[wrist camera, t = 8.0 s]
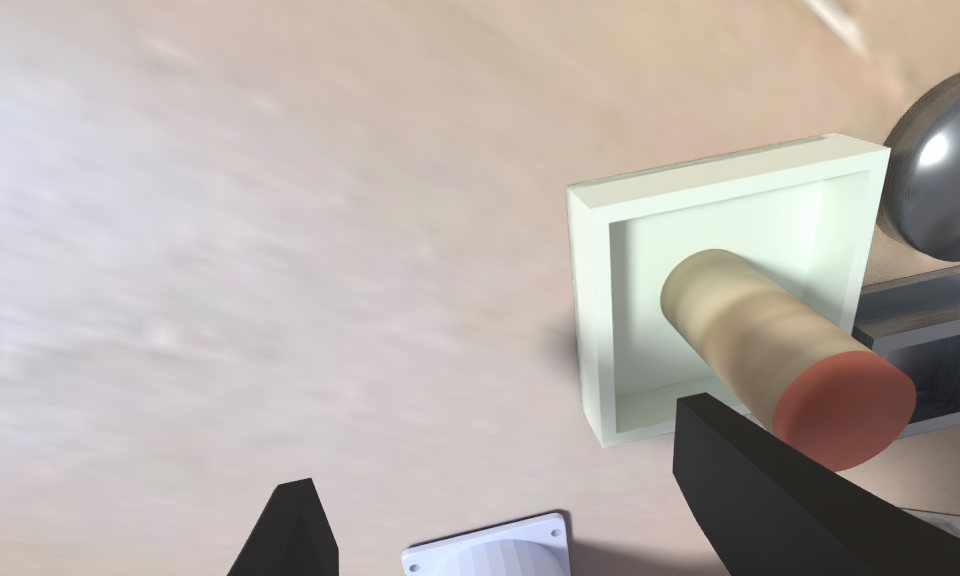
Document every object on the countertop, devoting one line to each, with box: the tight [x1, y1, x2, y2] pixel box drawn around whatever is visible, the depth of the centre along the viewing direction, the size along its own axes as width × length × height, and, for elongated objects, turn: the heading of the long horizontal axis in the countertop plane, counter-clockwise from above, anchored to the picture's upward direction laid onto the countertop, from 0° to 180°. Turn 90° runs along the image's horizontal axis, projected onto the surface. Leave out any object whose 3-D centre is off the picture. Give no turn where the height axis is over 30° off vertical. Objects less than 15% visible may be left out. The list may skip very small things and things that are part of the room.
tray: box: [566, 133, 891, 448], centre depth 21 cm, size 10×10×2 cm
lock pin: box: [660, 249, 916, 472], centre depth 18 cm, size 4×4×8 cm
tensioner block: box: [851, 266, 960, 440], centre depth 25 cm, size 8×7×2 cm
